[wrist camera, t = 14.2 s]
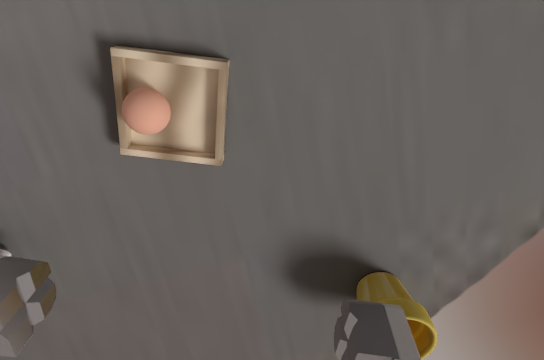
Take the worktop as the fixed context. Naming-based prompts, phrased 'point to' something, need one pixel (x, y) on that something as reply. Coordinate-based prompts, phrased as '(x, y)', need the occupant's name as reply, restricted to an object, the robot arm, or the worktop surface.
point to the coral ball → (146, 111)
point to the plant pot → (393, 292)
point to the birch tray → (175, 103)
